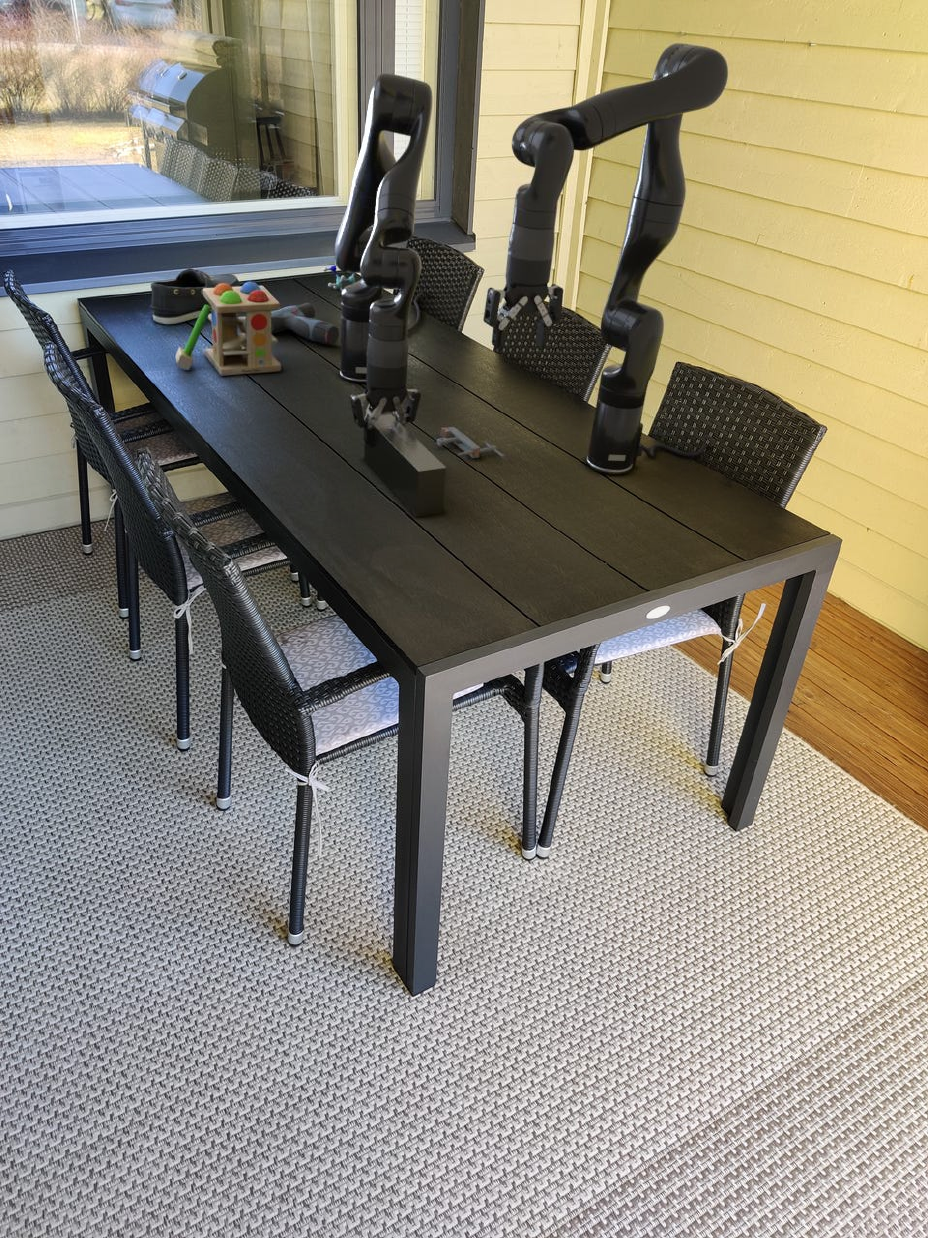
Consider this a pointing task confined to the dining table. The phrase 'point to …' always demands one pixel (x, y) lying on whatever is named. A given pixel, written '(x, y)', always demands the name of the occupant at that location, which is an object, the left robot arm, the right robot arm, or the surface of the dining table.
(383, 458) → the bar
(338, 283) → the molecular model
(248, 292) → the pounding bench toy
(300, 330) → the power drill
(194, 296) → the boat shoe
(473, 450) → the clamp
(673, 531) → the dining table surface
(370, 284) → the left robot arm
